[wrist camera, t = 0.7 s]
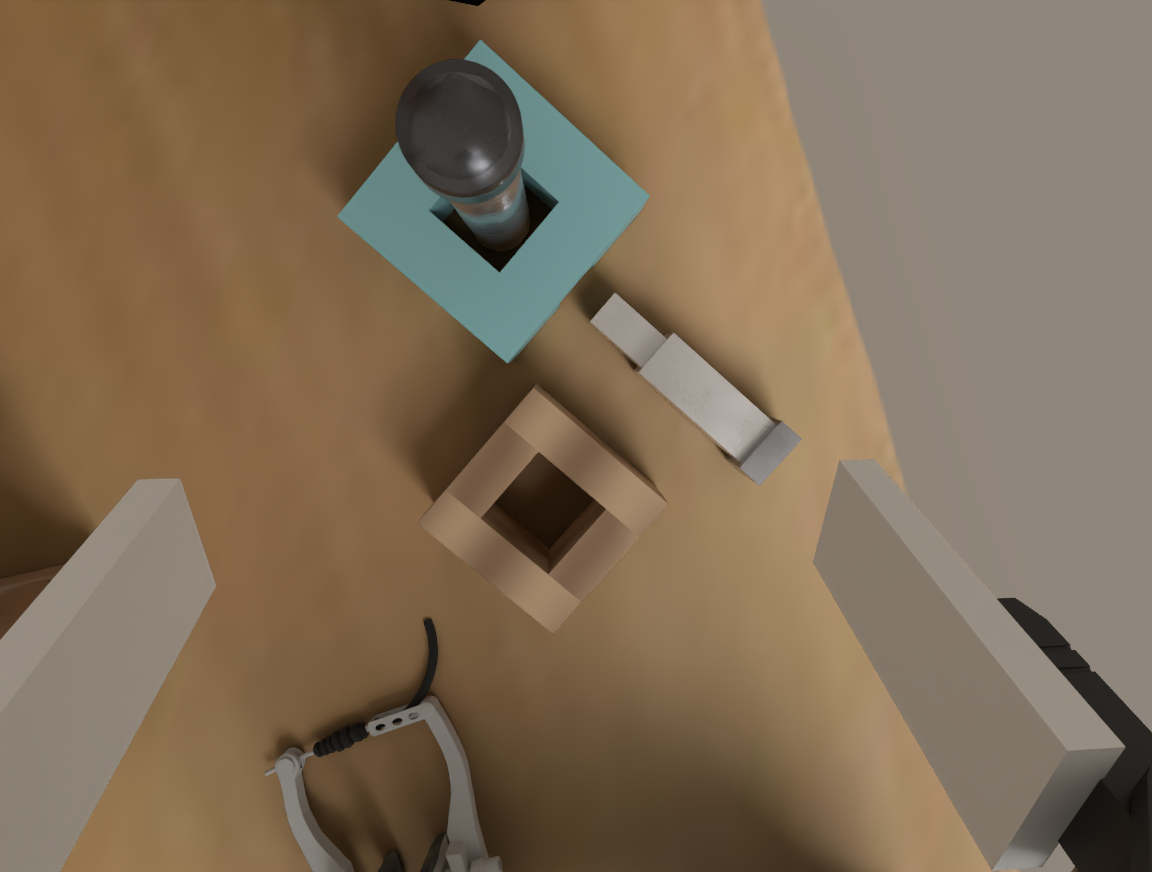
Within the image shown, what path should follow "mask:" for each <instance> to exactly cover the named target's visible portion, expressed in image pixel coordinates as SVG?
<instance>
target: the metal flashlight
mask: <svg viewBox="0 0 1152 872" xmlns="http://www.w3.org/2000/svg"><path fill="white" fill-rule="evenodd" d="M396 134H397V140H398V143H399V147H400V149H401V151H402V154H403V156H404V158H405V159H406V161H407V163H408V164H409V165H410V167H411V168H412V169H413V170H414V172H415V173H416V174H417V175H418V177H419V178H420V179H421V180H422V182H423V183H424V184H425V185H426V186H427V187H428V188H429V189H430V190H431V191H433V192H434V193H435V194H437V195H438V196H440V197H442V198H444V199H446V200H449V201H450V203H451V204H452V205H453V207H454V208H455V210H456V211H457V212H458V214H459V215H460V216H461V218H462V219H463V221H464V222H465V223H466V225H467V226H468V228H469V229H470V230H471V232H472V233H473V234H474V236H475V237H476V239H477V240H478V241H479V242H480V243H481V244H482V245H483V246H485V247H487V248H489V249H491V250H494V251H507V250H511V249H513V248H515V247H517V246H518V245H519V244H521V243H522V242H523V240H524V239H525V238H526V236H527V234H528V231H529V228H530V214H529V209H528V204H527V199H526V194H525V189H524V184H523V179H522V174H521V170H520V168H521V165H522V162H523V158H524V151H525V139H524V131H523V125H522V119H521V113H520V109H519V105H518V103H517V100H516V98H515V96H514V94H513V92H512V91H511V89H510V88H509V86H508V85H507V84H506V82H505V81H504V80H503V79H502V78H501V77H500V76H499V75H497V74H496V73H495V72H494V71H492V70H491V69H489V68H487V67H486V66H483V65H481V64H479V63H476V62H473V61H468V60H462V59H453V60H445V61H441V62H438V63H435V64H433V65H431V66H429V67H427V68H425V69H424V70H422V71H421V72H420V73H418V74H417V75H416V76H415V77H414V78H413V79H412V80H411V81H410V83H409V84H408V85H407V87H406V88H405V90H404V92H403V94H402V96H401V98H400V101H399V104H398V108H397V112H396Z"/></svg>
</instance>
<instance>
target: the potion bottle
mask: <svg viewBox="0 0 1152 872" xmlns="http://www.w3.org/2000/svg"><path fill="white" fill-rule="evenodd" d="M450 1H455V2H460V3H465V4H470V5H475V6H479V5H480V4H481V3H483V2H484V1H485V0H450Z"/></svg>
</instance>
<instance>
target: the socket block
mask: <svg viewBox="0 0 1152 872" xmlns="http://www.w3.org/2000/svg"><path fill="white" fill-rule="evenodd" d="M464 60H468V61H473V62H476V63H479V64H481V65H483V66H486V67H487V68H489V69H491V70H492V71H494V72H495V73H496V74H497V75H499V76H500V77H501V78H502V79H503V80H504V81H505V82H506V84H507V85H508V86H509V88H510V89H511V91H512V92H513V94H514V96H515V98H516V100H517V103H518V105H519V109H520V113H521V119H522V125H523V131H524V139H525V151H524V158H523V162H522V165H521V168H520V170H521V174H522V179H523V184H524V185H525V186H526V187H527V188H528V189H529V190H530V191H531V192H532V193H533V194H535V195H536V196H537V197H538V198H539V199H540V200H541V201H542V202H543V203H545V204H546V205H547V206H548V207H549V208H550V209H551V210H552V211H551V212H550V213H549V215H548V216H547V217H546V218H545V219H544V221H543V222H542V223H541V224H540V225H539V227H538V228H537V229H536V230H535V231H534V232H533V234H532V235H531V236H530V237H529V238H528V240H527V241H526V242H525V243H524V244H523V246H522V247H521V248H520V249H519V250H518V251H517V253H516V254H515V255H514V256H513V257H512V259H511V260H510V261H509V262H508V263H507V265H506V266H505V267H504V268H503V269H502V271H501V272H500V273H499V272H498V271H497V270H496V269H495V268H494V267H492V266H491V265H490V264H489V263H488V262H487V261H486V260H484V259H483V258H482V257H481V256H480V255H479V254H478V253H477V252H475V251H474V250H473V249H472V248H471V247H470V246H469V245H467V244H466V243H465V242H464V241H463V240H462V239H461V238H459V237H458V236H457V235H456V234H455V233H454V232H453V231H451V230H450V229H449V228H448V227H447V226H446V225H445V224H444V223H443V222H444V221H445V220H446V218H447V217H448V216H449V215H450V214H451V212H452V211H453V210H454V209H455V208H454V207H453V205H452V204H451V203H450V201H449V200H446V199H444V198H442V197H440V196H438V195H437V194H435V193H434V192H433V191H431V190H430V189H429V188H428V187H427V186H426V185H425V184H424V183H423V182H422V180H421V179H420V178H419V177H418V175H417V174H416V173H415V172H414V170H413V169H412V168H411V167H410V165H409V164H408V163H407V161H406V159H405V158H404V156H403V154H402V151H401V149H400V147H399V143H398V142H397V143H396V144H395V145H394V147H393V148H392V149H391V150H390V152H389V153H388V154H387V155H386V157H385V158H384V159H383V160H382V162H381V163H380V164H379V165H378V166H377V168H376V169H375V170H374V171H373V173H372V174H371V175H370V176H369V178H368V179H367V180H366V181H365V183H364V184H363V185H362V186H361V187H360V189H359V190H358V191H357V192H356V194H355V195H354V196H353V197H352V199H351V200H350V201H349V202H348V204H347V205H346V206H345V207H344V208H343V210H342V211H341V212H340V213H339V215H338V216H337V217H338V218H339V219H340V220H341V221H343V222H344V223H345V224H346V225H347V226H348V227H350V228H351V229H352V230H353V231H354V232H355V233H357V234H358V235H359V236H360V237H361V238H362V239H363V240H365V241H366V242H367V243H368V244H369V245H370V246H372V247H373V248H374V249H375V250H376V251H377V252H379V253H380V254H381V255H382V256H383V257H384V258H386V259H387V260H388V261H389V262H390V263H391V264H392V265H394V266H395V267H396V268H397V269H398V270H399V271H401V272H402V273H403V274H404V275H405V276H406V277H408V278H409V279H410V280H411V281H412V282H413V283H415V284H416V285H417V286H418V287H419V288H420V289H421V290H423V291H424V292H425V293H426V294H427V295H428V296H430V297H431V298H432V299H433V300H434V301H435V302H437V303H438V304H439V305H440V306H441V307H442V308H444V309H445V310H446V311H447V312H448V313H449V314H450V315H452V316H453V317H454V318H455V319H456V320H457V321H459V322H460V323H461V324H462V325H463V326H464V327H466V328H467V329H468V330H469V331H470V332H471V333H472V334H474V335H475V336H476V337H477V338H478V339H479V340H481V341H482V342H483V343H484V344H485V345H486V346H488V347H489V348H490V349H491V350H492V351H493V352H495V353H496V354H497V355H498V356H499V357H500V358H501V359H503V360H504V361H505V362H506V363H510V362H512V361H513V360H514V359H515V358H516V357H517V356H518V354H519V353H520V352H521V351H522V350H523V349H524V347H525V346H526V345H527V344H528V343H529V341H530V340H531V339H532V338H533V337H534V336H535V334H536V333H537V332H538V331H539V330H540V329H541V327H542V326H543V325H544V324H545V323H546V322H547V320H548V319H549V318H550V317H551V316H552V315H553V313H554V312H555V311H556V310H557V309H558V308H559V306H560V302H561V301H562V300H563V299H564V298H565V297H566V295H567V294H568V293H569V292H570V291H571V289H572V288H573V287H574V286H575V285H576V284H577V282H578V281H579V280H580V279H581V278H582V277H583V275H584V274H585V273H586V272H587V271H588V270H589V268H590V267H591V268H593V267H594V265H595V264H596V263H597V262H598V261H599V260H600V258H601V257H602V256H603V255H604V254H605V253H606V251H607V250H608V249H609V248H610V247H611V245H612V244H613V243H614V242H615V241H616V240H617V238H618V237H619V236H620V235H621V234H622V233H623V231H624V230H625V229H626V228H627V227H628V226H629V224H630V223H631V222H632V221H633V220H634V219H635V217H636V216H637V215H638V214H639V213H640V212H641V210H642V208H643V207H644V205H645V203H646V202H647V200H648V198H649V197H650V196H649V195H648V194H647V193H646V192H645V191H644V190H643V189H642V188H641V187H640V186H639V185H638V184H636V183H635V182H634V181H633V180H632V179H631V178H630V177H629V176H628V175H627V174H626V173H625V172H623V171H622V170H621V169H620V168H619V167H618V166H617V165H616V164H615V163H614V162H613V161H612V160H610V159H609V158H608V157H607V156H606V155H605V154H604V153H603V152H602V151H601V150H600V149H599V148H597V147H596V146H595V145H594V144H593V143H592V142H591V141H590V140H589V139H588V138H587V137H586V136H584V135H583V134H582V133H581V132H580V131H579V130H578V129H577V128H576V127H575V126H574V125H573V124H571V123H570V122H569V121H568V120H567V119H566V118H565V117H564V116H563V115H562V114H561V113H560V112H558V111H557V110H556V109H555V108H554V107H553V106H552V105H551V104H550V103H549V102H548V101H547V100H545V99H544V98H543V97H542V96H541V95H540V94H539V93H538V92H537V91H536V90H535V89H534V88H532V87H531V86H530V85H529V84H528V83H527V82H526V81H525V80H524V79H523V78H522V77H521V76H519V75H518V74H517V73H516V72H515V71H514V70H513V69H512V68H511V67H510V66H509V65H508V64H506V63H505V62H504V61H503V60H502V59H501V58H500V57H499V56H498V55H497V54H496V53H495V52H493V51H492V50H491V49H490V48H489V47H488V46H487V45H486V44H485V43H484V42H483V41H482V40H479V42H478V43H477V44H476V45H475V47H474V48H473V49H472V50H471V52H470V53H469V54H468V55H467V57H466V58H465V59H464Z"/></svg>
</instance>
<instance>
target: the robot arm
mask: <svg viewBox="0 0 1152 872" xmlns="http://www.w3.org/2000/svg"><path fill="white" fill-rule="evenodd" d="M813 563H814V565H815V566H816V568H817V570H818V572H819V573H820V575H821V577H822V578H823V580H824V582H825V584H826V585H827V587H828V589H829V591H830V592H831V594H832V596H833V597H834V599H835V601H836V603H837V604H838V606H839V608H840V610H841V611H842V613H843V615H844V616H845V618H846V620H847V622H848V623H849V625H850V627H851V628H852V630H853V632H854V634H855V635H856V637H857V639H858V641H859V642H860V644H861V646H862V647H863V649H864V651H865V653H866V654H867V656H868V658H869V660H870V661H871V663H872V665H873V666H874V668H875V670H876V672H877V673H878V675H879V677H880V679H881V680H882V682H883V684H884V685H885V687H886V689H887V691H888V692H889V694H890V696H891V697H892V699H893V701H894V703H895V704H896V706H897V708H898V710H899V711H900V713H901V715H902V716H903V718H904V720H905V722H906V723H907V725H908V727H909V729H910V730H911V732H912V734H913V735H914V737H915V739H916V741H917V742H918V744H919V746H920V747H921V749H922V751H923V753H924V754H925V756H926V758H927V760H928V761H929V763H930V765H931V766H932V768H933V770H934V772H935V773H936V775H937V777H938V779H939V780H940V782H941V784H942V785H943V787H944V789H945V791H946V792H947V794H948V796H949V797H950V799H951V801H952V803H953V804H954V806H955V808H956V810H957V811H958V813H959V815H960V816H961V818H962V820H963V822H964V823H965V825H966V827H967V829H968V830H969V832H970V834H971V835H972V837H973V839H974V841H975V842H976V844H977V846H978V848H979V849H980V851H981V853H982V854H983V856H984V858H985V860H986V861H987V863H988V865H989V866H990V868H991V870H992V871H999V870H1011V869H1022V868H1035V867H1043V865H1044V864H1045V862H1046V861H1047V860H1048V858H1049V857H1050V855H1051V854H1052V852H1053V851H1054V850H1055V848H1056V847H1057V845H1058V844H1059V843H1060V845H1061V846H1062V848H1063V849H1064V851H1065V852H1066V854H1067V855H1068V856H1069V858H1070V859H1071V861H1072V862H1073V864H1074V865H1075V868H1074V869H1073V871H1072V872H1152V732H1151V731H1150V730H1149V729H1148V728H1147V727H1146V726H1145V725H1144V724H1143V723H1142V722H1141V720H1140V719H1139V718H1138V717H1137V716H1136V715H1135V714H1134V713H1133V712H1132V711H1131V710H1130V709H1129V708H1128V707H1127V705H1126V704H1125V703H1124V702H1123V701H1122V700H1121V699H1120V698H1119V697H1118V696H1117V695H1116V694H1115V692H1113V690H1112V689H1110V687H1109V686H1108V685H1107V684H1106V683H1105V682H1104V681H1103V680H1102V679H1101V677H1100V676H1099V675H1098V674H1097V673H1096V672H1091V670H1090V666H1089V665H1088V663H1087V662H1086V661H1085V660H1084V659H1083V658H1082V657H1081V656H1080V655H1079V654H1078V653H1077V652H1076V650H1071V648H1070V644H1069V643H1068V642H1067V641H1066V640H1065V639H1064V638H1063V636H1062V635H1061V634H1060V633H1059V632H1058V631H1057V630H1056V629H1055V628H1054V627H1053V626H1052V625H1051V624H1050V622H1048V620H1047V619H1045V618H1044V617H1042V616H1041V615H1039V614H1038V613H1036V612H1035V611H1034V610H1032V609H1031V608H1029V607H1028V606H1026V605H1025V604H1023V603H1022V602H1020V601H1019V600H1017V599H1016V598H999V599H996V598H995V596H994V595H993V594H992V593H991V592H990V591H989V590H988V588H987V587H986V586H985V585H984V584H983V583H982V582H981V580H980V579H979V578H978V577H977V576H976V575H975V574H974V572H973V571H972V570H971V569H970V568H969V567H968V566H967V564H966V563H965V562H964V561H963V560H962V559H961V558H960V556H959V555H958V554H957V553H956V552H955V551H954V549H953V548H952V547H951V546H950V545H949V544H948V543H947V541H946V540H945V539H944V538H943V537H942V536H941V535H940V533H939V532H938V531H937V530H936V529H935V528H934V527H933V525H932V524H931V523H930V522H929V521H928V520H927V519H926V517H925V516H924V515H923V514H922V513H921V512H920V511H919V509H918V508H917V507H916V506H915V505H914V504H913V502H912V501H911V500H910V499H909V498H908V497H907V496H906V494H905V493H904V492H903V491H902V490H901V489H900V488H899V486H898V485H897V484H896V483H895V482H894V481H893V480H892V478H891V477H890V476H889V475H888V474H887V473H886V471H885V470H884V469H883V468H882V467H881V466H880V465H879V463H878V462H877V461H876V460H875V459H869V460H839V464H838V468H837V472H836V476H835V480H834V483H833V487H832V491H831V495H830V499H829V503H828V506H827V510H826V514H825V518H824V522H823V526H822V530H821V533H820V537H819V541H818V545H817V549H816V553H815V556H814V560H813ZM215 587H216V584H215V581H214V578H213V575H212V572H211V569H210V566H209V563H208V560H207V557H206V554H205V551H204V548H203V545H202V542H201V539H200V536H199V533H198V530H197V527H196V524H195V521H194V518H193V515H192V512H191V509H190V507H189V504H188V501H187V498H186V495H185V492H184V489H183V486H182V483H181V480H180V478H175V479H138V480H137V481H136V483H135V484H134V485H133V486H132V487H131V488H130V490H129V491H128V492H127V493H126V494H125V495H124V497H123V498H122V499H121V500H120V501H119V502H118V504H117V505H116V506H115V507H114V508H113V509H112V511H111V512H110V513H109V514H108V515H107V516H106V518H105V519H104V520H103V521H102V522H101V523H100V525H99V526H98V527H97V528H96V529H95V530H94V532H93V533H92V534H91V535H90V536H89V537H88V539H87V540H86V541H85V542H84V543H83V544H82V545H81V547H80V548H79V549H78V550H77V551H76V552H75V554H74V555H73V556H72V557H71V558H70V559H69V561H68V562H67V563H66V564H65V565H64V566H63V568H62V569H61V570H60V571H59V572H58V573H57V575H56V576H55V577H54V578H53V579H52V580H51V582H50V583H49V584H48V585H47V586H46V587H45V589H44V590H43V591H42V592H41V593H40V594H39V596H38V597H37V598H36V599H35V600H34V601H33V603H32V604H31V605H30V606H29V607H28V608H27V610H26V611H25V612H24V613H23V614H22V615H21V617H20V618H19V619H18V620H17V621H16V622H15V624H14V625H13V626H12V627H11V628H10V629H9V631H8V632H7V633H6V634H5V635H4V636H3V637H2V639H1V640H0V872H60V871H61V869H62V867H63V865H64V864H65V862H66V860H67V858H68V856H69V854H70V853H71V851H72V849H73V847H74V845H75V843H76V842H77V840H78V838H79V836H80V834H81V832H82V831H83V829H84V827H85V825H86V823H87V821H88V820H89V818H90V816H91V814H92V812H93V810H94V809H95V807H96V805H97V803H98V801H99V800H100V798H101V796H102V794H103V792H104V790H105V789H106V787H107V785H108V783H109V781H110V779H111V778H112V776H113V774H114V772H115V770H116V768H117V767H118V765H119V763H120V761H121V759H122V757H123V756H124V754H125V752H126V750H127V748H128V746H129V745H130V743H131V741H132V739H133V737H134V735H135V734H136V732H137V730H138V728H139V726H140V724H141V723H142V721H143V719H144V717H145V715H146V713H147V712H148V710H149V708H150V706H151V704H152V703H153V701H154V699H155V697H156V695H157V693H158V692H159V690H160V688H161V686H162V684H163V682H164V681H165V679H166V677H167V675H168V673H169V671H170V670H171V668H172V666H173V664H174V662H175V660H176V659H177V657H178V655H179V653H180V651H181V649H182V648H183V646H184V644H185V642H186V640H187V638H188V637H189V635H190V633H191V631H192V629H193V627H194V626H195V624H196V622H197V620H198V618H199V616H200V615H201V613H202V611H203V609H204V607H205V606H206V604H207V602H208V600H209V598H210V596H211V595H212V593H213V591H214V589H215Z"/></svg>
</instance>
